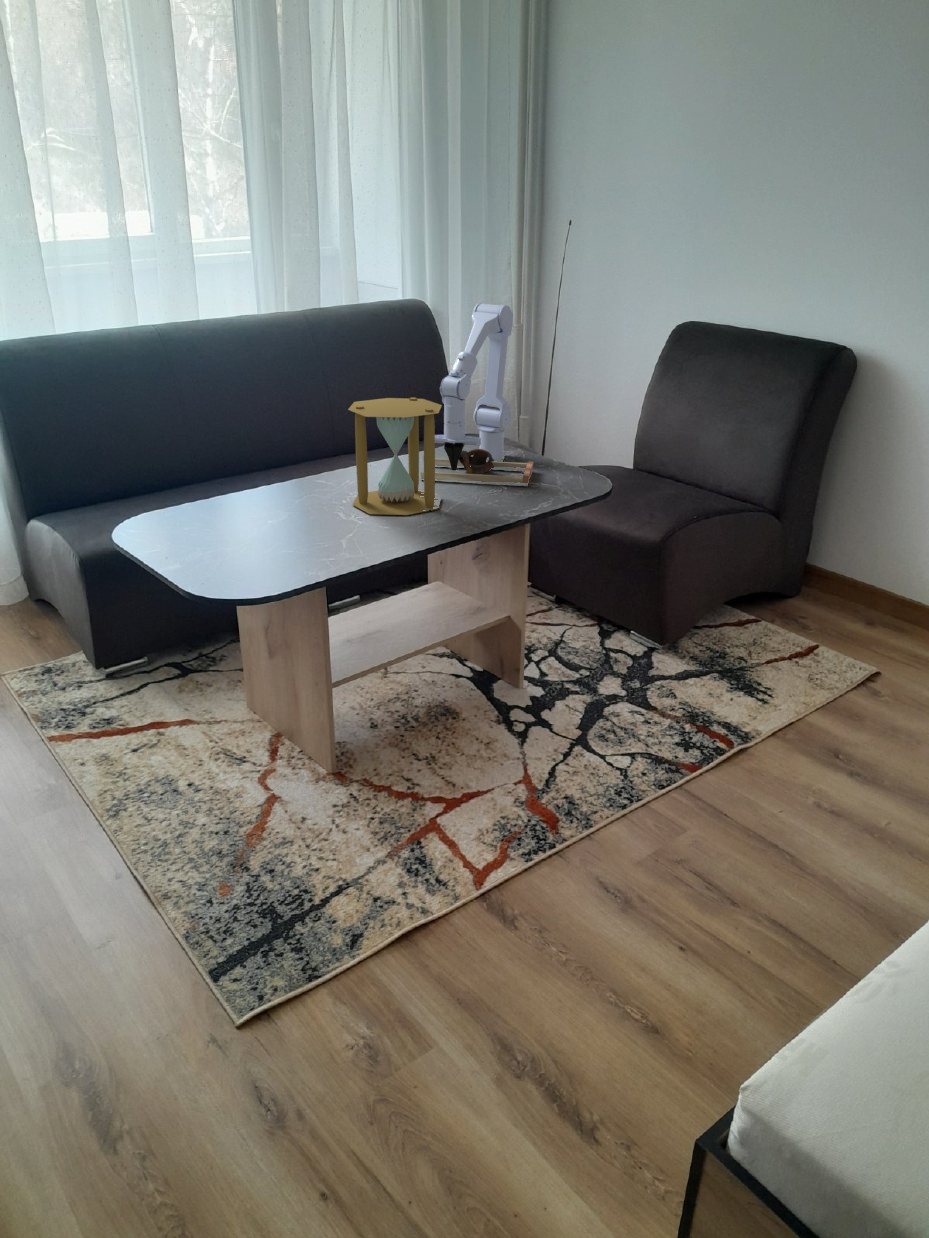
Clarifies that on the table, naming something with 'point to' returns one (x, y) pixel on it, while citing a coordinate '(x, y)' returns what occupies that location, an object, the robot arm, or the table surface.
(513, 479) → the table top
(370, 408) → the hourglass
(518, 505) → the table surface
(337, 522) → the table surface
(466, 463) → the pottery mug
